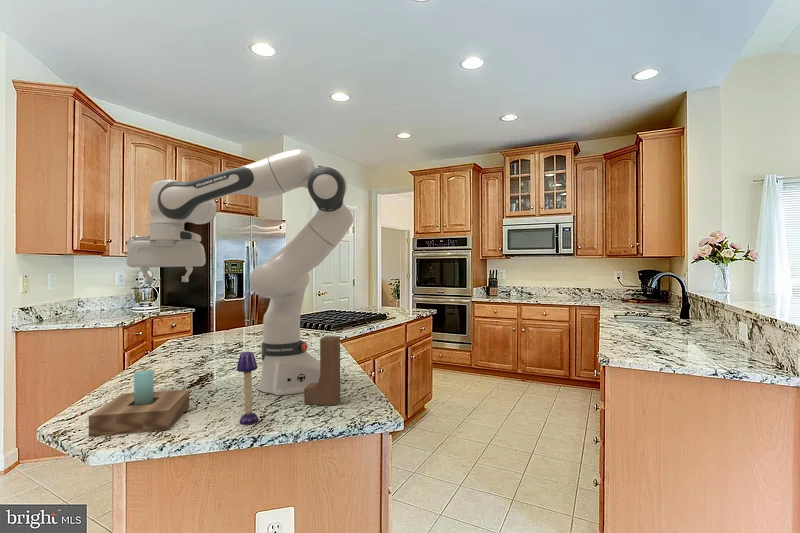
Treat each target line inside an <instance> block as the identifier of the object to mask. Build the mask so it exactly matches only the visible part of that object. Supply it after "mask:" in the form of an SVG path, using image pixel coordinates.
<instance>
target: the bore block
mask: <svg viewBox="0 0 800 533" xmlns="http://www.w3.org/2000/svg"><path fill="white" fill-rule="evenodd" d="M189 407H190V389H176V390H175V389H173V390H161V391H160V390H158V391H153V404H148V405H134V392H130V393H129V392H128V393H127V392H126V393H121V394H120V395H118V396H117V397H115V398H114V399H112V400H111V401H109V402H108V403H106V404H104V405H103V406H101V407H100V408H99V409H97V410H95V411H94V412H92V413H91V414H89V415H88V437H94V436H95V437H96V436H98V435H99V436H109V434H111V435H123V434H135V433H143V432H144V433H145V432H147V433H148V432H159V431H160V432H161V431H169V430H170V429H171V428H172V426H173V425H174V424H175V423H176V422H177V421H178V420H179V418H180V417H182V415H183V414H184V413H185V412H186V411H187V409H189ZM99 436H98V437H99Z"/></svg>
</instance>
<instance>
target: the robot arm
mask: <svg viewBox="0 0 800 533" xmlns="http://www.w3.org/2000/svg"><path fill="white" fill-rule="evenodd" d="M299 188H304V189H307V191H308V194H309V196H310V198H311V199H312V201H313V202H314V203H315V205H316V207H317V208H318V209H317V211H316V213H315V214H314V215H313V216H312V218H311V219H310V220H309V221H308V222H307V223H306V225H305V226H304V227H303V228H302V229H301V230H300V231H299V232H298V233H297V234H296V236H295V237H294V238H293V239H292V240H290V242H288V243H287V244H285V245H284V247H282V248H281V249H280V250H278V251H277V252H275V253H274V254H273V255H272V256H271V257H269V258H268V259H267V260H266V261H264V262H262V263H260V264H259V265H257V266H256V267H254V268H253V270H252V271H251V274H250V275H249V285H250V287H251V290H252V291H253V293H255V294H256V295H258V296H260V297H264V298H267V299H270V300H269V304H268V307H267V310H266V312H265V313H264V315H263V317H262V318H263V319H262V320H263V321H262V324H263V326H262V328H263V330H262V332H263V333H262V334H263V335H262V336H263V339H262V342H261V345H260V346H261V352H260V353H261V360H262V362H261V363H262V364H261V365H262V366H261V373H260V378H259V383H258V385H257V390H258V391H261V392H263V393H269V394H273V395H275V396H284V395H285V396H286V395H292V394H293V395H294V394H301V393H304V389H305V387H307V386H308V385H309V384H311V383H318V382H319V378H320V359H317V358H316V357H315V356H313V355H311V354H310V353H309V352H307V350H308V349H309V345H308V343H307V341H304V340H301V314H302V313H301V312H302V307H303V302H304V298H305V293H306V289H307V287H308V285H309V283H310V275H309V272H311V271H312V270H313V269H314V268H316V267H319V265H320V264H322V262H323V261H325V259H326V258H327V257H328V255H330V254H331V253H332V252H333V250H334V249H335V248H336V247H337V246H338V244H340V242H341V241H342V240H343V238H344V237H345V235H346V234H347V233H348V231H349V230H350V228H351V226H352V224H353V221H354V217H353V214H352V212H351V210H350V209H349V208H348V207H347V206H346V204H344V198H345V196H346V193H347V189H348V182H347V179H346V176H345V175H344V172H342V171H341V170H339V169H338V168H337V167H334V166H326V165H325V166H322V165H316V163H315V162H314V160H313V158H312V156H311V155H310V154H309V153H308V152H307V151H306V150H304V149H302V148H296V149H291V150H286V151H282V152H278V153H275V154H273V155H270V156H267V157H265V158H262V159H260V160H258V161H253V162H251V163H248V164H245V165H242V166H238V167H235V168H230V169H226V170H223V171H220V172H217V173H214V174H210V175H207V176H204V177H202V178H198V179H195V180H191V181H178V180H177V179H160V180H157V181H155V182H154V183H153V184H152V185H151V188H150V193H149V203H148V204H149V213H150V221H149V235H132V237H130V238H128V239H127V241H126V247H127V248H126V249H127V253H126V254H127V255H126V265H127V266H128V267H129V268H133V269H134V268H140V272H141V274H143V276H144V277H145V283H146V284H153V283H154V276H151V275H150V274H149V272H150V268H174V267H176V268H177V267H179V268H180V267H184V268H185V270H186V273H185V274H184V275H181V282H182V283H189V281H190V279H189V277H190V275H191V274H192V272H193V270H194V268H193V267H203V266H205V264H206V261H207V260H206V259H207V258H206V252H205V247H204V245H203V244H202V243H200V242H201V241H202V236H201V235H200V234H198V233H196V232H191V231H190V230H186V229H185V224H186V223H192V224H195V225H205V224H208V223H210V222H212V221H213V220H214V219H215V217H216V215H217V212H218V205H217V202H216V200H217V199H220V198H224V197H226V196H231V195H245V196H250V197H255V198H261V199H266V198H272V197H278V196H280V195H283V194H285V193H288V192H290V191H292V190H296V189H299Z"/></svg>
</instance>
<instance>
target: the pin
mask: <svg viewBox="0 0 800 533" xmlns="http://www.w3.org/2000/svg"><path fill="white" fill-rule="evenodd" d="M133 373H134V374H133V376H134V377H133V393H134V405H148V404H153V392H154V383H155V382H154V380H155V379H154V370H152V369H147V370H140V371H136V372H133Z"/></svg>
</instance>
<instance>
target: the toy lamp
mask: <svg viewBox="0 0 800 533" xmlns="http://www.w3.org/2000/svg"><path fill="white" fill-rule="evenodd" d="M237 362H238V363H237V366H236V371H237V372H239V373H243V376H244V377H243V389H244V390H243V392H244V394H243V395H244V398H243V399H244V407H245V408H244V414H242V415H241V417H240V419H239V424H240V425H242V426H243V425H244V426H248V425H253V424H256V423H257V422H258V421H259V417H258V414H256V413H254V412H253V395H252V393H253V389H252V387H253V383H252V380H253V378H252V372H253V371H255V370H257V369H258V364H257V360H256V356H255V354H254V352H252V351H245V352H241V353H240V354H239V357H238V361H237Z"/></svg>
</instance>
